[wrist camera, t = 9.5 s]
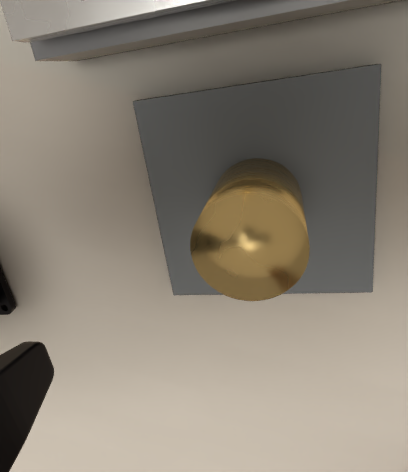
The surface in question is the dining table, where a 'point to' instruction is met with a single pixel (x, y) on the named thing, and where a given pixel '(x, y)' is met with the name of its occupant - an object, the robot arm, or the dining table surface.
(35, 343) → the robot arm
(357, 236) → the rubber mat
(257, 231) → the cylinder
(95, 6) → the pan
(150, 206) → the dining table surface
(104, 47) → the base
